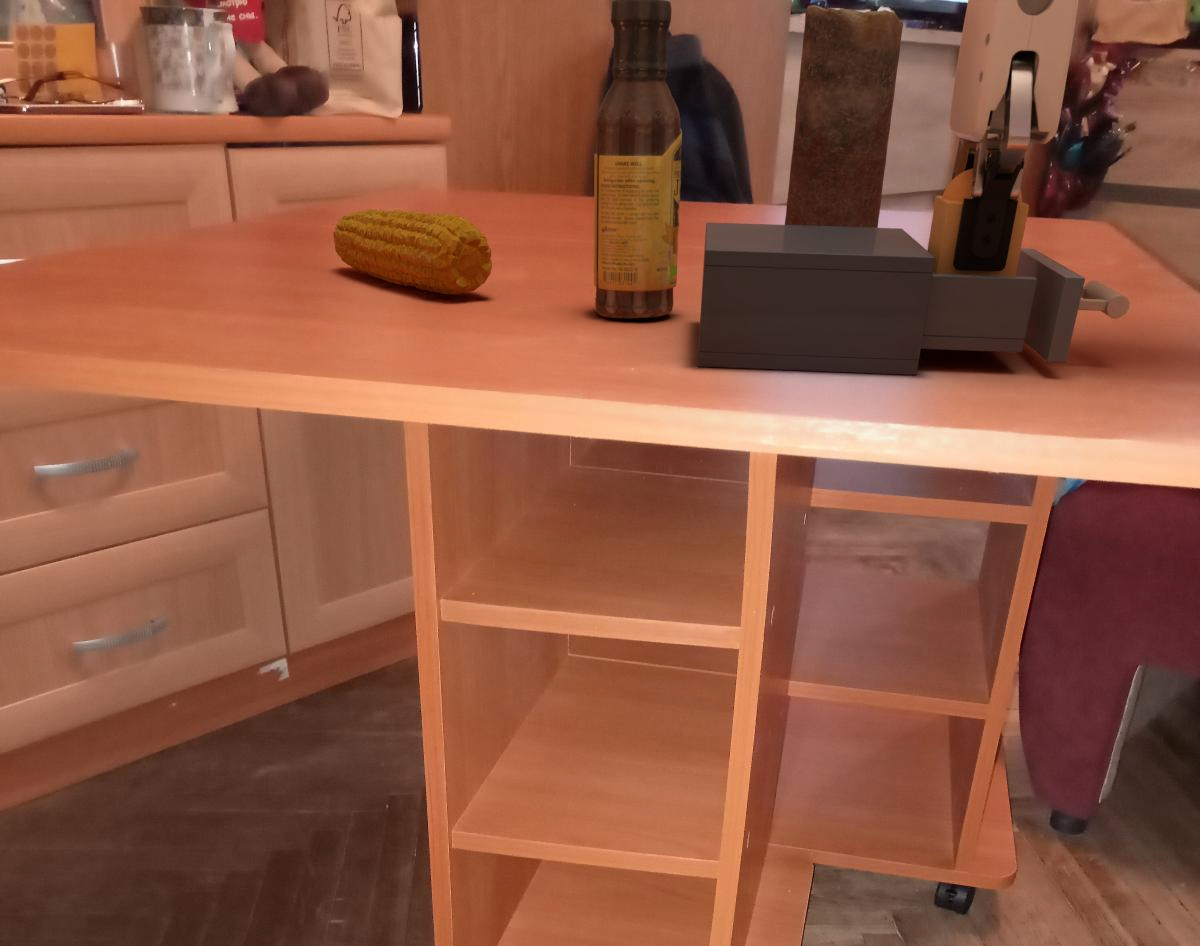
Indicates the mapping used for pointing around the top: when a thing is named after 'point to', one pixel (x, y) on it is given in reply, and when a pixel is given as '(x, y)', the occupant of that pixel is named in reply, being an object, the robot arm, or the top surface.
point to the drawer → (1015, 308)
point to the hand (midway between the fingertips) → (970, 260)
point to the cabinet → (813, 298)
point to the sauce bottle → (637, 169)
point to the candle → (843, 117)
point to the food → (415, 249)
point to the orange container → (948, 226)
